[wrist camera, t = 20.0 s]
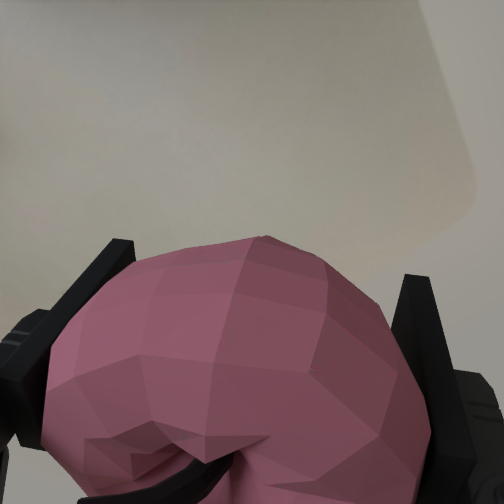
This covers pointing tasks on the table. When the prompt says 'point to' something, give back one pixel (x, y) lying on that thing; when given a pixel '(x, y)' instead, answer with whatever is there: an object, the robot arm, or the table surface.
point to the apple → (234, 385)
